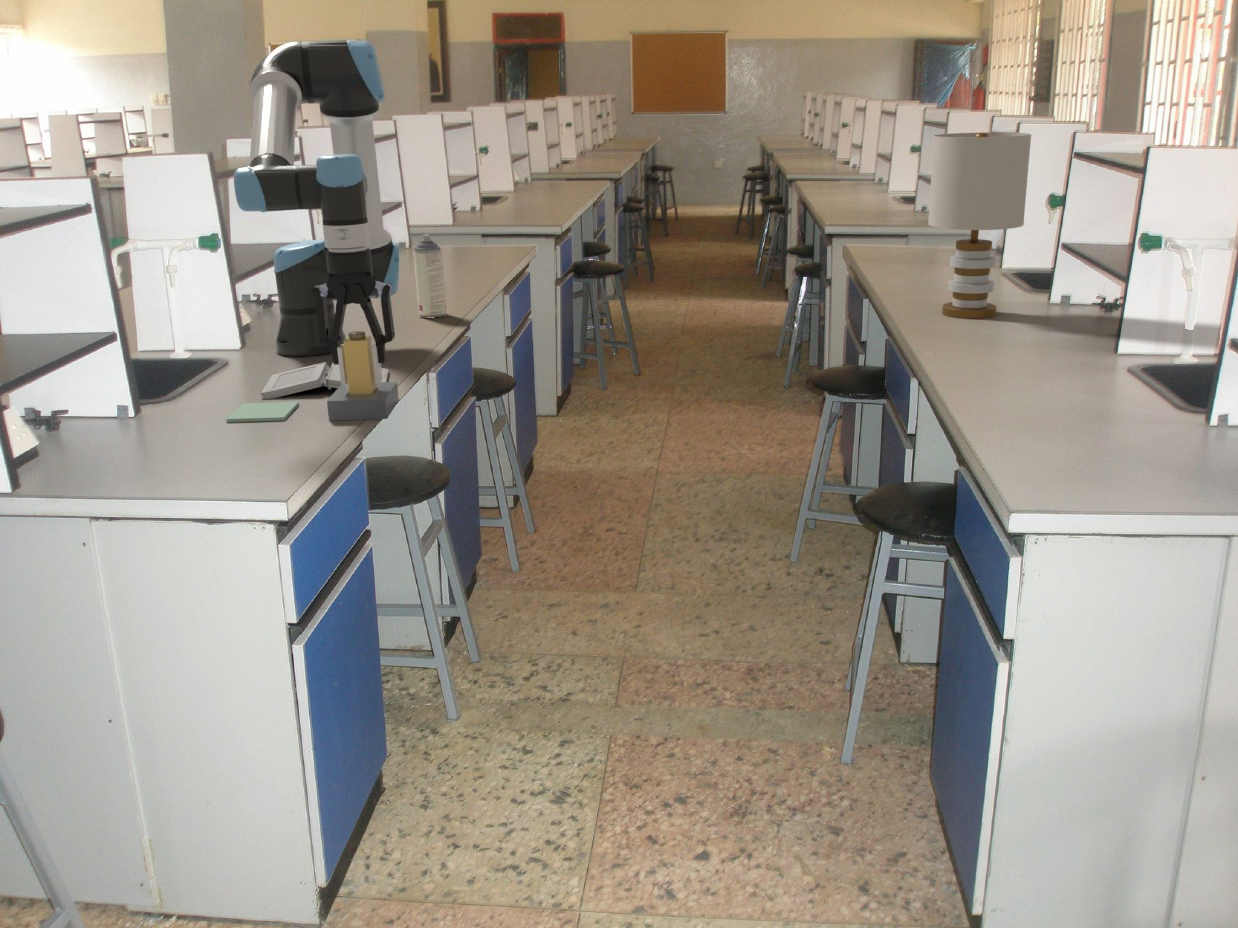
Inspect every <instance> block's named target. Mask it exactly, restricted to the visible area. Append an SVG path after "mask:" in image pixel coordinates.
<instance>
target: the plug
mask: <svg viewBox="0 0 1238 928" xmlns="http://www.w3.org/2000/svg"><path fill="white" fill-rule="evenodd" d="M372 340H373V339H372V335H366V332H365V331H363V330H361V331H360V330H359V331H358V330H357V331H350V332H348V336H347V337H346V339H345V340H344V350H345V360H346V369H347V378H348V387H349V395H364V394H374V393H375V392H376V390H377V389H376V383H375V374H374V364H373V354H372V346H373V341H372Z"/></svg>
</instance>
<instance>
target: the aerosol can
mask: <svg viewBox="0 0 1238 928" xmlns="http://www.w3.org/2000/svg"><path fill="white" fill-rule="evenodd" d="M442 251H443V250H442V249H441V246H440V245H439V246H438V244H437V242H435V241H434V240H432V238H431V236H430V234H422V239H421V240H420V241H419V243H417V245H416V247H413V261H414V272H415V275H414V276H415V285H416V295H417V296H416V297H417V308H418V315H420V316H421V317H441V318H443V317H442V316H444V315H446V316H448V315H447V304H446V303H447V302H446V291H445V278H444V277H445V276H444V266H443V253H442Z"/></svg>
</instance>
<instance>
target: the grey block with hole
mask: <svg viewBox="0 0 1238 928" xmlns="http://www.w3.org/2000/svg"><path fill="white" fill-rule="evenodd" d="M376 389H377V390H376V392H375V393H374V394H364V395H349V387H348V383H346V384H341V385H340V387H339V388H336V389H335V391H334V392H333V393H332V394H331V396H330V397H329V398H328V399H327V400H326V404H327V413H328V421H333V422H334V421H360V420H361V421H362V420H388V418H389V417H390V415H391V414H392V412H393V411H394V409H395V407H396V405H397V404H398V402H399V400H400V398H399V387H398V381H386V382H380V383H376Z"/></svg>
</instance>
